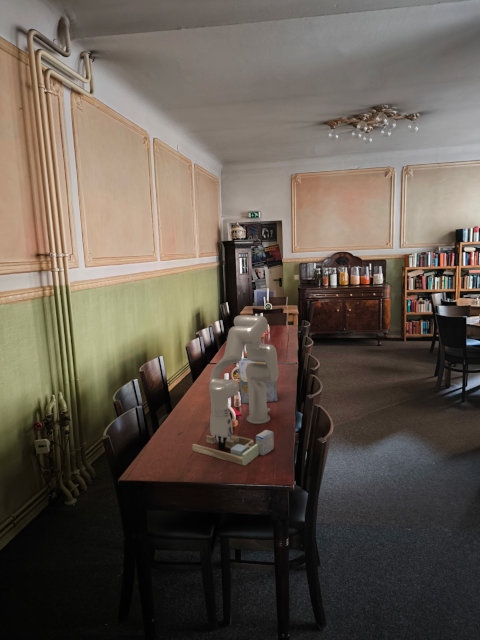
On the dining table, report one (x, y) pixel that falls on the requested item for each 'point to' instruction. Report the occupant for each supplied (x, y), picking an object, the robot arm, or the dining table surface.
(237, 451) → the slate block
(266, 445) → the medicine box
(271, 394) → the lunch bag
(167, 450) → the dining table surface
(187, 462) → the dining table surface
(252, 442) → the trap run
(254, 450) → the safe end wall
